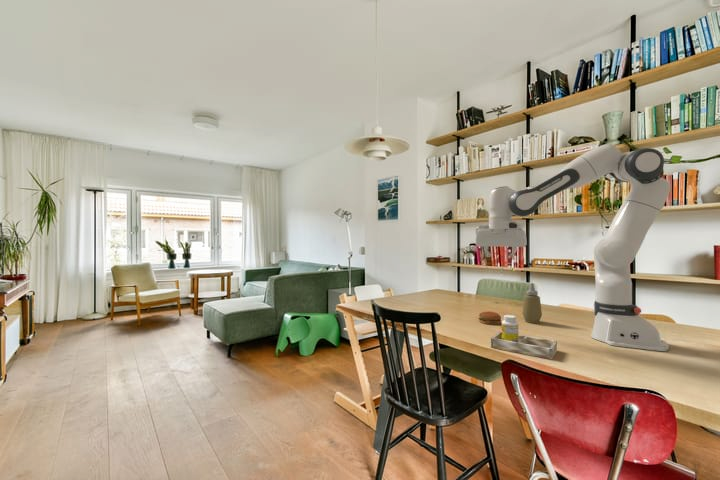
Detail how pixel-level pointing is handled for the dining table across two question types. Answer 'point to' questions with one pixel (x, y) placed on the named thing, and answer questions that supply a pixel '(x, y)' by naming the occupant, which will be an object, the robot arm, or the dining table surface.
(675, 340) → the dining table surface
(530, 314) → the squeeze bottle
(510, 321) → the supplement bottle
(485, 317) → the burger
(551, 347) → the grey divided wooden tray
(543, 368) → the dining table surface
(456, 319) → the dining table surface
